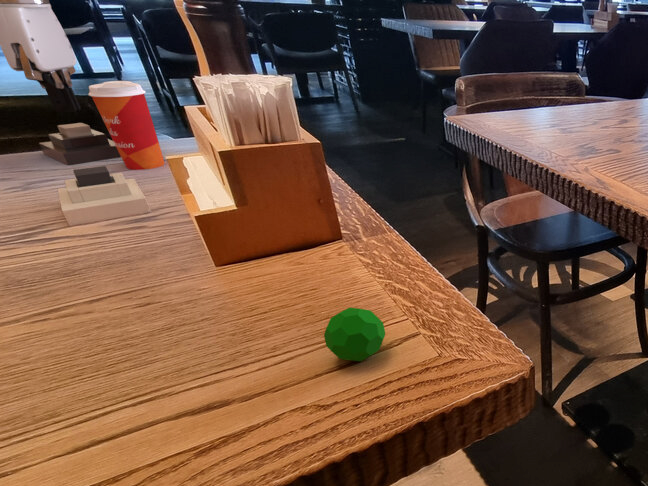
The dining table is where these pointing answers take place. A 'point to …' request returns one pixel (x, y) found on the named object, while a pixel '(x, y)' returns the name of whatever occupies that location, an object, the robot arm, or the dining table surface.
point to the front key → (92, 176)
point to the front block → (101, 200)
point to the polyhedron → (354, 334)
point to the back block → (80, 148)
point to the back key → (74, 130)
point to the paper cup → (129, 123)
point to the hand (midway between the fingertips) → (68, 110)
